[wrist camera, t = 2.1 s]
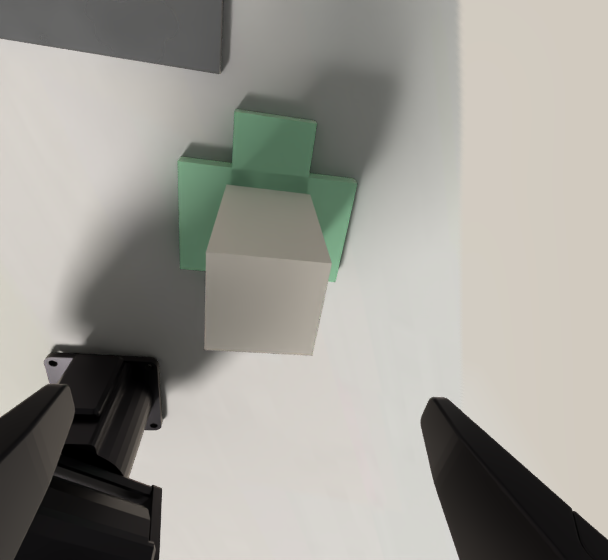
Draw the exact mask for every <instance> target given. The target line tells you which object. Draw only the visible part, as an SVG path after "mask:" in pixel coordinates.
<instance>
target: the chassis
mask: <svg viewBox="0 0 608 560" xmlns="http://www.w3.org/2000/svg"><path fill="white" fill-rule="evenodd" d="M222 24H223V0H0V38H1V39H7V40H13V41H19V42H25V43H31V44H37V45H44V46H50V47H56V48H62V49H68V50H74V51H80V52H86V53H93V54H99V55H105V56H111V57H117V58H123V59H129V60H136V61H142V62H148V63H154V64H160V65H166V66H172V67H179V68H185V69H191V70H197V71H203V72H209V73H215V74H221V56H222Z"/></svg>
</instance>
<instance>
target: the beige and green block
mask: <svg viewBox="0 0 608 560" xmlns="http://www.w3.org/2000/svg"><path fill="white" fill-rule="evenodd" d="M316 127H317V123H316V122H315V121H313V120H307V119H300V118H293V117H287V116H280V115H273V114H267V113H260V112H253V111H247V110H240V109H236V110H235V111H234V131H233V151H232V163H229V162H221V161H213V160H206V159H198V158H190V157H182V156H181V157H180V159H179V160H178V204H179V249H180V269H187V270H198V271H206V277H205V334H204V350H216V351H235V352H254V353H273V354H292V355H310V356H312V355H313V350H314V345H315V340H316V336H317V331H318V326H319V322H320V317H321V312H322V308H323V303H324V298H325V293H326V289H327V284H328V281H329V282H335V281H336V277H337V273H338V268H339V264H340V259H341V255H342V250H343V246H344V241H345V237H346V232H347V228H348V224H349V219H350V215H351V210H352V206H353V201H354V197H355V192H356V188H357V182H356V181H355V180H354V178H346V177H338V176H330V175H322V174H315V173H309V172H310V166H311V159H312V153H313V147H314V140H315V134H316Z"/></svg>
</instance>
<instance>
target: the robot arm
mask: <svg viewBox="0 0 608 560" xmlns="http://www.w3.org/2000/svg"><path fill="white" fill-rule="evenodd" d="M55 361H56V362H55ZM44 365H45V368H46V372H47V376H48V379H49V383H50V384H47V385H45V386H44V387H42V388H41V389H40V390H38V391H37V392H35V393H34V394H33V395H31V396H30V397H28V398H27V399H25V400H24V401H23V402H21V403H20V404H18V405H17V406H16V407H14V408H13V409H11V410H10V411H9V412H7V413H6V414H4V415H3V416H1V417H0V560H159V552H160V527H161V502H162V488H160V487H157V486H155V485H152V486H149V485H146V484H144V483H141V482H138V481H135V480H133V479H130V478H129V475H130V472H131V469H132V466H133V463H134V460H135V457H136V454H137V451H138V448H139V445H140V441H141V438H142V435H143V432H144V430H158V429H160V428H161V425H162V421H163V419H162V404H161V388H160V373H159V362H158V361H157V360H156V359H155V358H151V357H133V356H113V355H93V354H72V353H50V354H49V355H48V356H47V357H46V359H45V360H44ZM148 365H151V366H148ZM421 429H422V433H423V437H424V442H425V446H426V451H427V455H428V459H429V464H430V468H431V473H432V477H433V480H434V484H435V487H436V491H437V494H438V497H439V500H440V503H441V506H442V509H443V512H444V515H445V518H446V521H447V524H448V527H449V530H450V533H451V536H452V539H453V542H454V545H455V548H456V551H457V554H458V557H459V560H608V539H606V538H605V537H604V536H603V535H602V534H600V533H599V532H598V531H597V530H596V529H595V528H594V527H592V526H591V525H590V524H589V523H588V522H587V521H586V520H584V519H583V518H582V517H581V516H580V515H579V514H578V513H577V512H575V511H572V508H571V507H570V506H568V505H567V504H566V503H565V502H564V501H563V500H562V499H561V498H559V497H558V496H557V495H556V494H555V493H554V492H553V491H551V490H550V489H549V488H548V487H547V486H546V485H545V484H544V483H542V482H541V481H540V480H539V479H538V478H537V477H536V476H535V475H533V474H532V473H531V472H530V471H529V470H528V469H527V468H525V467H524V466H523V465H522V464H521V463H520V462H519V461H517V460H516V459H515V458H514V457H513V456H512V455H511V454H510V453H508V452H507V451H506V450H505V449H504V448H503V447H502V446H500V445H499V444H498V443H497V442H496V441H495V440H494V439H493V438H491V437H490V436H489V435H488V434H487V433H486V432H485V431H484V430H482V429H481V428H480V427H479V426H478V425H477V424H476V423H474V422H473V421H472V420H471V419H470V418H469V417H467V415H465V414H464V413H463V412H462V411H461V410H460V409H459V408H458V407H456V406H455V405H454V404H453V403H452V402H451V401H450V400H448V399H447V398H444V397H432V398H430V399H429V401H428V403H427V405H426V408H425V410H424V412H423V414H422V416H421Z"/></svg>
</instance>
